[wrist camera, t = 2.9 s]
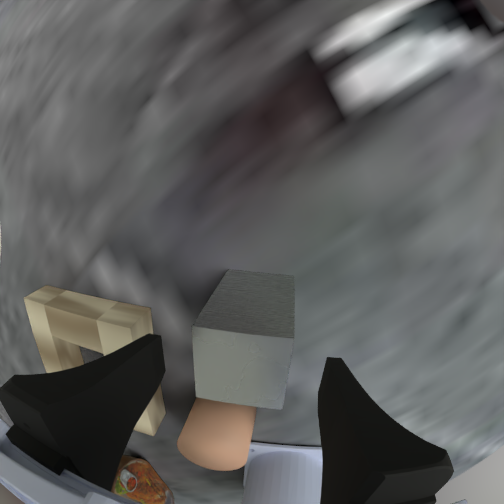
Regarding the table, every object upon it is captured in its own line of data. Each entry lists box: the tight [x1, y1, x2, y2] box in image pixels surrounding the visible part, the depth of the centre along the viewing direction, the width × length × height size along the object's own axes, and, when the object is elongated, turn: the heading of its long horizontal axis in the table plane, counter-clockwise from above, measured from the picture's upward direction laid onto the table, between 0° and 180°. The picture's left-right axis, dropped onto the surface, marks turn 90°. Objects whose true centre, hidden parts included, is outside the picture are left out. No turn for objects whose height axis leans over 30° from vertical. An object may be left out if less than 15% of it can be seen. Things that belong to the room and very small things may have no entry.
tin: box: [111, 455, 174, 504], centre depth 23 cm, size 15×3×8 cm, turn 9°
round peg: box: [177, 397, 256, 471], centre depth 19 cm, size 5×5×5 cm
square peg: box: [192, 269, 295, 410], centre depth 15 cm, size 4×4×7 cm
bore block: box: [24, 285, 166, 436], centre depth 20 cm, size 11×11×3 cm
